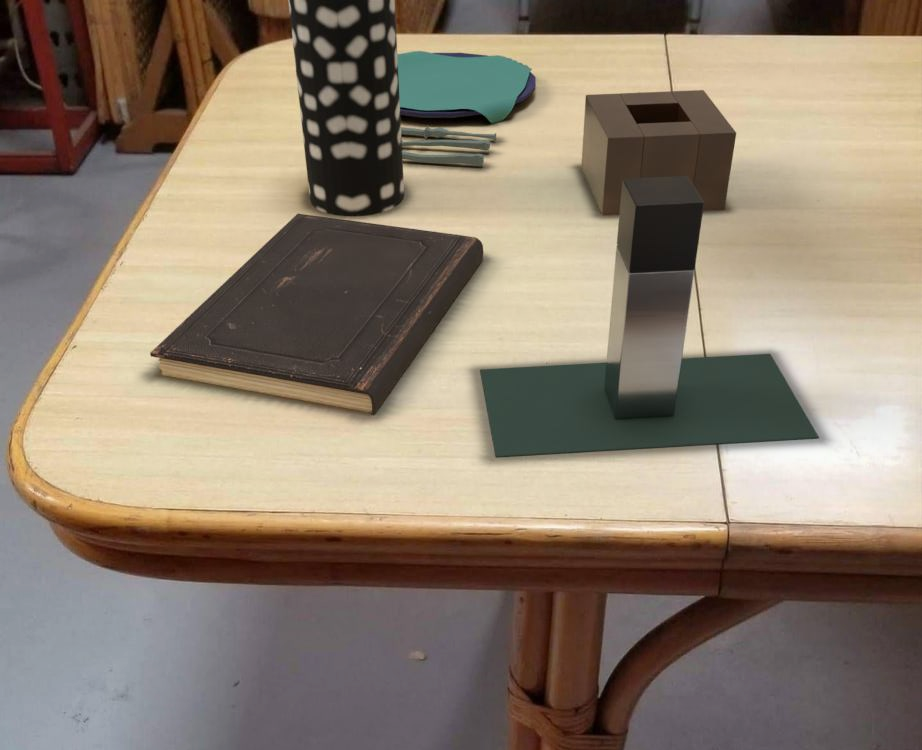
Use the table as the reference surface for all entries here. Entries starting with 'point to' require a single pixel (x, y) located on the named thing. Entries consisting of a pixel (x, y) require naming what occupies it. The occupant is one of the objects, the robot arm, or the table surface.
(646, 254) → the brushed metal bar
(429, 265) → the hardcover book
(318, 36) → the spotted tube
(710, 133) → the holder
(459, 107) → the cutlery set
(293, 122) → the table surface
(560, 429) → the mat
